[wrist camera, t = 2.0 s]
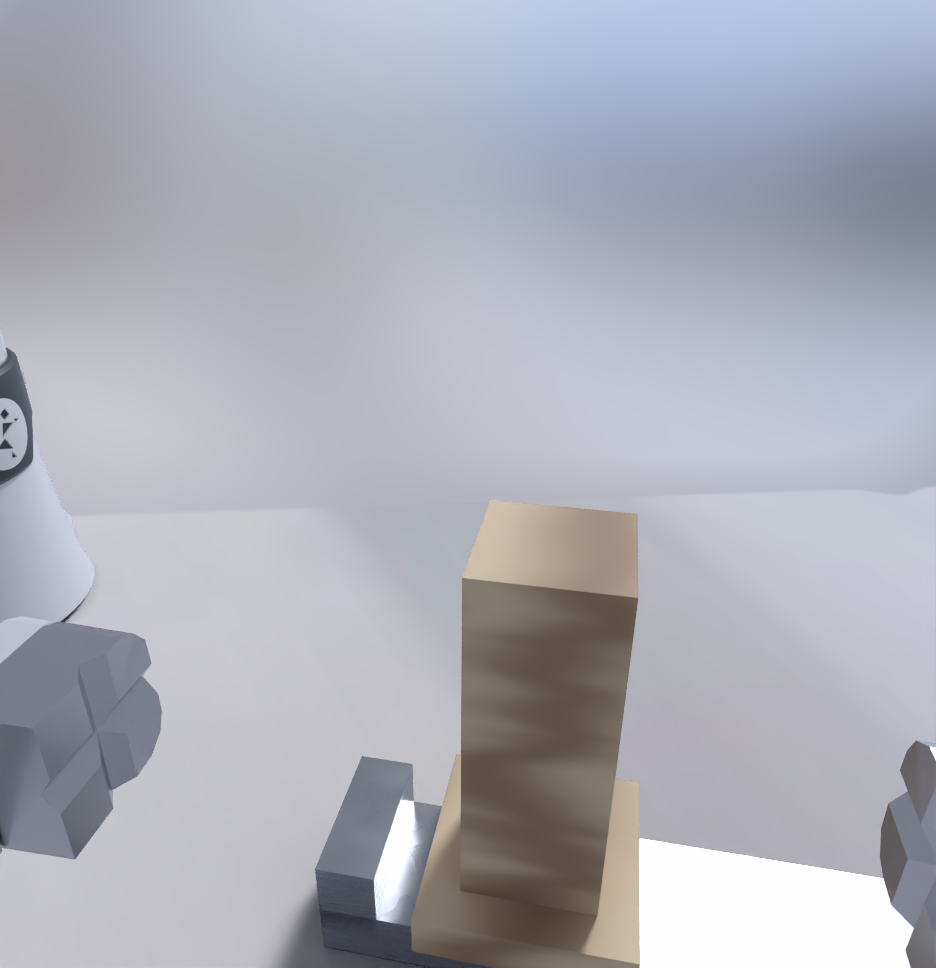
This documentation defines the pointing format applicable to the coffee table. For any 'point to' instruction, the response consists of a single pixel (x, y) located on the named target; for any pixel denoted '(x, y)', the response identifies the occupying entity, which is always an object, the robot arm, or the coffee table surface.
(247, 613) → the coffee table surface
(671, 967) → the rail
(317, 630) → the coffee table surface
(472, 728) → the beige post on base
